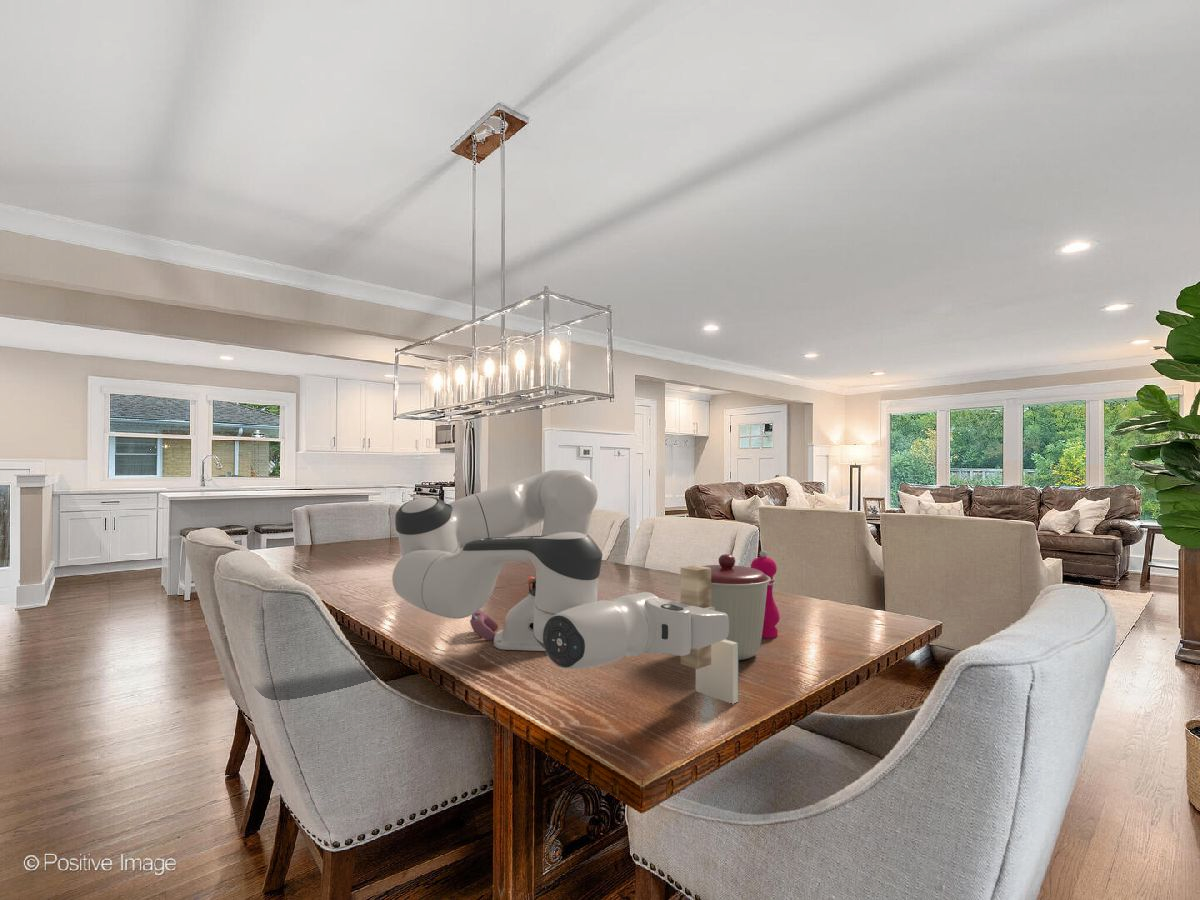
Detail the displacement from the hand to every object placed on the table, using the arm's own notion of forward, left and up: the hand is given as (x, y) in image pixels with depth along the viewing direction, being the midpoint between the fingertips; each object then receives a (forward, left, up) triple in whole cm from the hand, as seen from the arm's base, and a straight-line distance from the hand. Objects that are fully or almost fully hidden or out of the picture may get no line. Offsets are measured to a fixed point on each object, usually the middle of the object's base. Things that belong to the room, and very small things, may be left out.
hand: (699, 608), depth 100 cm
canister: (+13, +26, -16) cm, 33 cm away
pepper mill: (+26, +39, -16) cm, 50 cm away
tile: (+4, +4, -16) cm, 17 cm away
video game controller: (-40, +44, -16) cm, 62 cm away
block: (-1, -1, -9) cm, 9 cm away
